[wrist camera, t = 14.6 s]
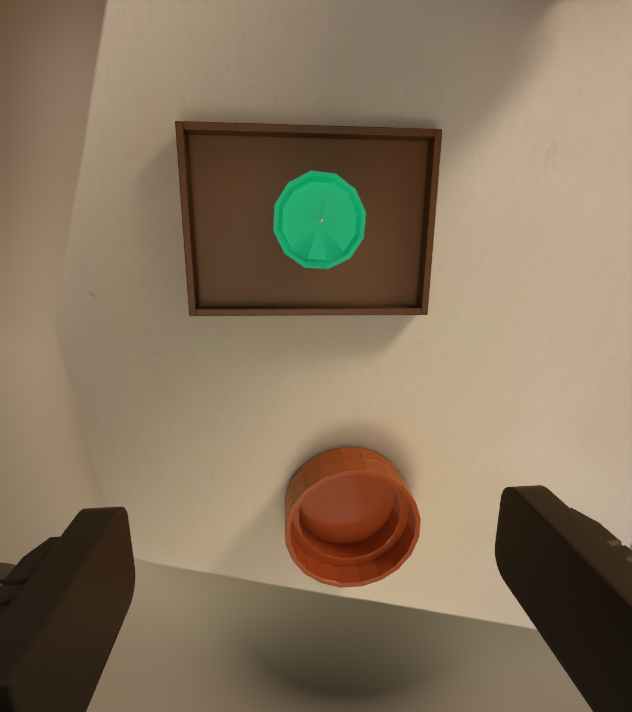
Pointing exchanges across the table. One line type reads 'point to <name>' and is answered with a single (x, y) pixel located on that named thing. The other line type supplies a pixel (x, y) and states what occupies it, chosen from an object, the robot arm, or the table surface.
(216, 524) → the table surface
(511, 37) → the table surface
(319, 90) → the table surface
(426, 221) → the tray
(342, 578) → the bowl
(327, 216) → the candle
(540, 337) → the table surface
